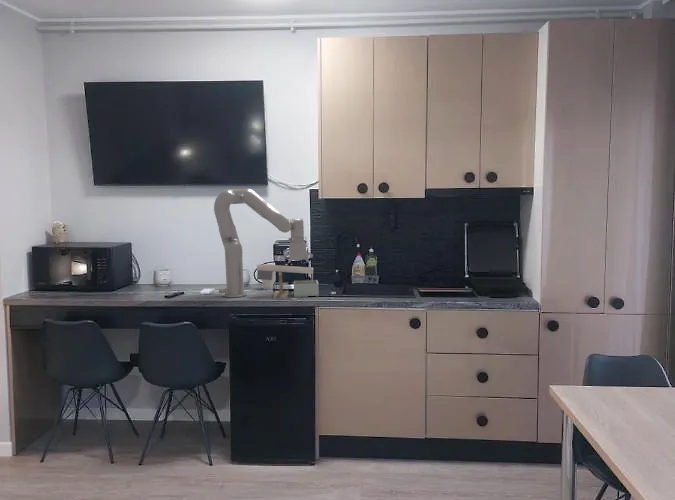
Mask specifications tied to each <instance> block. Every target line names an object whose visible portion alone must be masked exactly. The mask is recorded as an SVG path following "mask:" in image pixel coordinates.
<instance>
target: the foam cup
mask: <svg viewBox="0 0 675 500" xmlns="http://www.w3.org/2000/svg"><path fill="white" fill-rule="evenodd" d="M276 273H277V272H275V271H272V280H261V281H262V283H261V284H262V287H263V290H265V291H266V290H268V291H269V290H274V289H273V284H274V282H275V281H276ZM274 285H275V284H274Z"/></svg>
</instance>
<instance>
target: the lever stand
mask: <svg viewBox="0 0 675 500" xmlns="http://www.w3.org/2000/svg"><path fill="white" fill-rule="evenodd" d="M283 285H284V284H283V272H282V271H279V272H278V286H279V288H278V289H279V290H274V292H273V299H283V298H284V299H286V298H287V299H288V298H289V290H284V289H283V288H284V287H283Z"/></svg>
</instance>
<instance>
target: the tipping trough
mask: <svg viewBox="0 0 675 500" xmlns="http://www.w3.org/2000/svg"><path fill="white" fill-rule="evenodd" d="M256 271H257V274H256V275H257V277H256V280H261V281H262V280H272V271H276V273H277V272H278V273H279V271H282V273H293V274H296V273H297V274H309V275H311V280H312V281H313V280H314V267H310V266H309V267H306V266H292V265H291V266H288V265H276V264H262V263H257V265H256Z"/></svg>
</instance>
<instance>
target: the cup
mask: <svg viewBox="0 0 675 500" xmlns="http://www.w3.org/2000/svg"><path fill="white" fill-rule="evenodd" d="M319 286H320V285H319V281H318V279H313V281H312V279H307V280H293V297H294V298H309V297H308V296H316V297H319V296H320V295H319V294H320V291H319V289H320V288H319Z"/></svg>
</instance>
